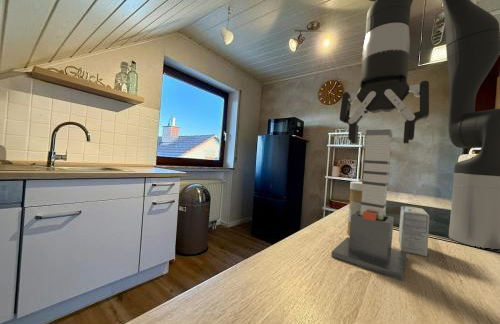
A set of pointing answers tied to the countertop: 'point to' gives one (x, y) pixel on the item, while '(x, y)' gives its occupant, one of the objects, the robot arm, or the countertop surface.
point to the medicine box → (413, 230)
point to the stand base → (372, 245)
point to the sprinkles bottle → (354, 200)
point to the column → (376, 172)
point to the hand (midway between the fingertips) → (378, 143)
